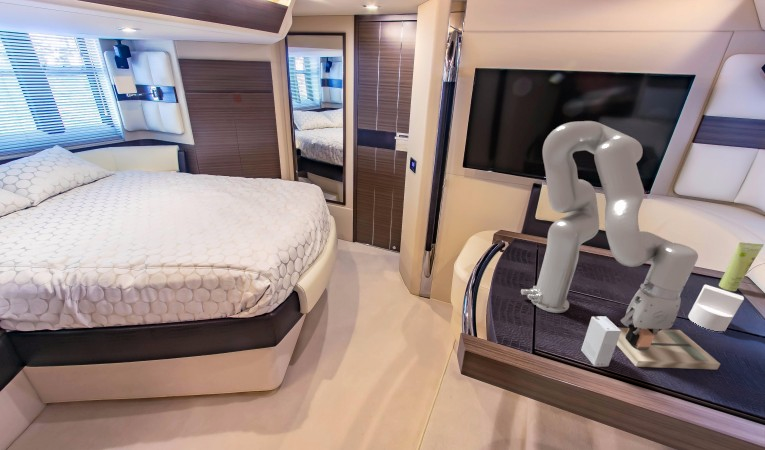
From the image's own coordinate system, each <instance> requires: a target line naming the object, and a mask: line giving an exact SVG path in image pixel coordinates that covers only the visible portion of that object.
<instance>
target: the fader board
mask: <svg viewBox="0 0 765 450" xmlns="http://www.w3.org/2000/svg"><path fill="white" fill-rule="evenodd" d="M618 328H619V329H620V330H621V334H620V336H619V339H618V342H617V345H616V347H618V348H619V349H620V350H621V352H623V354H624V355H625V356H626V357H627V358H628V359H629V361H630V362H631V363H632V364H633V365H634V366H635V367H640V368H661V369H663V368H667V369H668V368H669V369H671V368H672V369H690V370H691V369H693V370H694V369H696V370H697V369H698V370H718V369H719V368H720V366H721V363H720V362H719V361H717V360H716V359H715V358H714V357H713V356H712V355H711V354H710V353H708V352H707V351H706V350H704V349H703V348H702V347H701V346H700V345H698V344H697V343H696V342H695V341H694V340H692V339H691V338H690V337H689V336H688V335H687V334H685V333H684V332H683V331H682V330H681V329H670V328H669V329H662V330H660V331H658V334H657V335H654V336H655V337H654V339H653V341H652V343H651V345H650V347H649V349H637V348H636V347H635V346H632V345H631V344H630V343H629V342H628V341H627V340H626V333H627V331H628V329H629V328H628V327H618Z"/></svg>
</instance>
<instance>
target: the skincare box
mask: <svg viewBox="0 0 765 450" xmlns="http://www.w3.org/2000/svg"><path fill="white" fill-rule="evenodd" d="M619 328H620V327H617V325H615V323H613V322H612V321H611V320H610V319H609V317H607V316H606V315H605V316H601V315H600V316H599V315H598V316H591V318H590V321H589V324H588V327H587V330H586V334H585V336H584V339H583V340H584V341H583V343H582V346H581V352H582V353H583V354H584V356H585V357H586V359H587V360H588V361H589V362H590V363H591V364H592V366H593V367H602V368H604V367H609V365H610V363H611V360H612V358H613V354H614V353H615V350H616V347H617V342H618V339H619V336H620V334H621V330H620V329H619Z"/></svg>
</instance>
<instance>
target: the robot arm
mask: <svg viewBox="0 0 765 450" xmlns="http://www.w3.org/2000/svg"><path fill="white" fill-rule="evenodd" d="M581 151H587V152H589V153H591V154H592V155H594V156H593V157H594V163H595V166H596V171H597V173H598V176H599V180H600V184H601V187H602V191H603V195H604V198H605V209H604V228H605V234H606V235H605V236H606V238H607V242H608V245H609V249H610V251H611V254H612V256H613V257H614V259H615V260H616V262H618V263H619V264H621V265H622V266H626V267H628V268H629V267H630V268H635V267H639V266H642V265H643V264H646V263H647V262H650V263H651V264H650V267H649V269H648V272H647V273H646V276H645V279H644V281H643V283H640V285H639V286H640V288H638V290H637V292H636V293H635V294H634V296H633V297H632V299H631V300H630V303H629V305H628V306H627V308H626V312H625V316H624V317H622V318H621V319H620V323H621V324H623V325H624V326H625V327H626V328H629V330H628V333H627V335H626V340H627V341H628V342H629V343H630V344H631V345H632V346H635V345H636V343H637V341H638V339H639V336H640V335H639V334H638V333H639V332H640V330H641V329H642V328H647V329H648V330H649V331H650V332H651V333H652V334H653V335H657V334H658V331H660V330H662V329H669V330H670V328H672V326H673V325H674V324H675V321H676V318H677V316H678V313H679V312H680V311H679V310H680V306H681V303H682V301H681V300H682V299H681V294H682V292H683V290H684V287H685V286H686V283H687V281H688V279H689V277H690V275H691V274H692V272H693V270H694V268H695V265H696V263H697V260H698V259H699V254H698V252H697V251H696V250H695V249H694V248H692V247H690V246H688V245H685V244H682V243H677V242H672V241H670V240H668V239H665V238H663V237H661V236H659V235H657V234H655V233H653V232H649V231H642V230H641V231H640V227H639V226H640V225H639V213H640V212H639V211H640V208H641V206H642V203H643V201H644V198H645V189H644V184H643V182H642V180H641V176H640V173H639V169H638V166H637V163H638V162H639V161H640V160H641V158H642V157H643V147H642V144H641V143H640V142H639V141H638V140H637V139H635V138H634V137H631V136H629V135H628V134H625V133H624V132H623V133H622V132H621V131H619V130H616V129H614V128H612V127H609V126H607V125H605V124H602V123H600V122H597V121H593V120H584V121H583V120H582V121H579V120H578V121H570V122H566V123H563V124H560V125H559V126H557V127H556V128H555V129H552V131H551V132H550V133H549V134H548V135H547V137H546V138H545V140H544V142H543V146H542V160H543V164H544V171H545V178H546V179H545V181H546V187H547V195H548V202H549V206H550V208H551V209H552V210H553V211H554V212H556V213H558V214H565V213H566V216H564V217H561V218H558V219H557V220H555V221H554V222H553V223H552V224H551V225H550V226H549V229H548V232H547V242H546V247H545V248H546V249H545V254H544V257H543V261H542V265H541V269H540V272H539V277H538V280H537V283H536V285H533V287H532V288H529V289H528V288H521V290H520V293H521V295H522V296H523V295H526V296H527V299H528V300H529V301H530V300H531V301H530V302H531V303H532V305H534V306H535V305H536V307H537V308H539V309H540V310H542V311H546V312H549V313H554V314H561V313H565V312H567V311H568V310H569V308H570V302H569V301H568V299H567V296H568V294H569V290H570V287H571V284H572V280H573V278H574V274H575V271H576V268H577V265H578V262H579V258H580V257H579V256H580V248H581V245H582V244H583V243H586V242H588V241H589V240H592V239H593V238H594V237H595V236H596V235H597V234H598V232H599V229H600V217H599V216H600V215H599V209H598V208H599V206H598V200H597V194H596V191H595V189H594V186H593V185H592V184H591V183H590V182H589V181H586V180H584V179H581V178H580V179H579V177H578V176H579V175H578V168H577V164H576V162H575V159H574V157H573V154H574V153H576V152H581ZM634 325H635V326H636V328H635V327H634Z"/></svg>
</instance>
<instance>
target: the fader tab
mask: <svg viewBox="0 0 765 450" xmlns="http://www.w3.org/2000/svg"><path fill="white" fill-rule="evenodd" d="M634 327H635V328H636V326H635V325H634ZM628 330H629V329H628ZM627 333H628V331H627ZM627 333H626V335H627ZM638 334H639V335H640V336H639V339H638V341H637V343H636V345H635V347H636V348H637V349H649V347H650V345H651V343H652V341H653V339H654V337H655V336H654V335H653V334H652V333H651V332H650V331H649V330H648V329H647V328H642V329H641V330H640V332H639V333H638Z"/></svg>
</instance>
